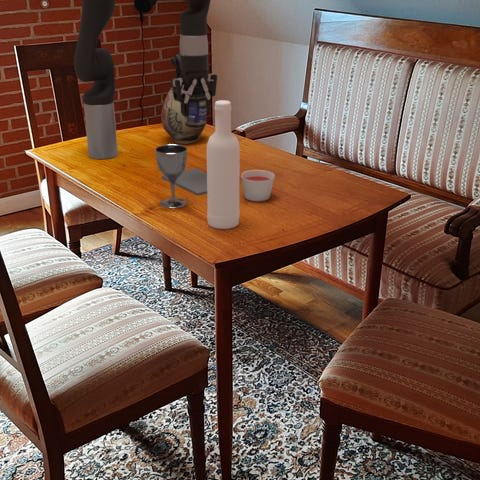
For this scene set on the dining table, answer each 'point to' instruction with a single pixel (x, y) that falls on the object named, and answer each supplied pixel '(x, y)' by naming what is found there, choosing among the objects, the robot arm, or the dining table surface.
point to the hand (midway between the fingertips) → (195, 114)
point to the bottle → (223, 171)
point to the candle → (257, 184)
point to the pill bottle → (196, 109)
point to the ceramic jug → (177, 115)
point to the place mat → (192, 181)
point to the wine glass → (172, 169)
